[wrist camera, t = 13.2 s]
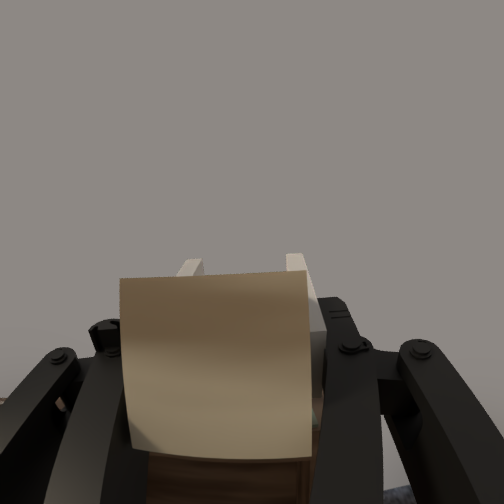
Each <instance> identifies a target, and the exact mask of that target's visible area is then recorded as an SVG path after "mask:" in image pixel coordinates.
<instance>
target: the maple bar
mask: <svg viewBox="0 0 504 504" xmlns="http://www.w3.org/2000/svg"><path fill="white" fill-rule="evenodd" d="M120 335H121V354H122V368H123V380H124V390H125V399H126V407H127V415H128V422H129V429H130V436H131V442H132V448H134V449H139V450H145V451H151V452H158V453H165V454H173V455H182V456H192V457H205V458H222V459H279V458H297V457H309V456H312V385H311V348H310V323H309V303H308V286H307V271H306V270H300V271H283V272H267V273H247V274H226V275H204V276H179V277H154V278H153V277H152V278H124V279H123V278H121V279H120Z"/></svg>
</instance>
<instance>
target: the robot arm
mask: <svg viewBox="0 0 504 504" xmlns="http://www.w3.org/2000/svg"><path fill="white" fill-rule="evenodd" d="M286 262H287V271H300V270H306V271H307V286H308V303H309V323H310V348H311V385H312V398H322V388H323V394H324V401H323V410H322V418H321V428H320V436H319V443H318V450H317V457H316V464H315V470H314V477H313V483H312V488H311V494H310V500H309V504H383V447H382V430H381V416H380V415H384V418H385V420H386V423H387V425H388V428H389V430H390V432H391V435H392V438H393V440H394V443H395V445H396V448H397V450H398V453H399V456H400V458H401V461H402V463H403V466H404V469H405V471H406V474H407V476H408V479H409V482H410V485H411V488H412V491H413V493H414V496H415V499H416V502H417V504H504V439H503V437H502V435H501V434H500V432H499V430H498V429H497V428H496V426H495V424H494V423H493V421H492V420H491V418H490V417H489V415H488V414H487V413H486V411H485V410H484V408H483V407H482V405H481V404H480V402H479V401H478V400H477V398H476V397H475V395H474V394H473V392H472V391H471V390H470V388H469V387H468V386H467V384H466V383H465V381H464V380H463V379H462V377H461V376H460V375H459V373H458V372H457V371H456V369H455V368H454V367H453V365H452V364H451V363H450V361H449V360H448V359H447V358H446V356H445V355H444V354H443V353H442V351H441V350H440V349H439V347H437V346H436V345H435V344H434V343H431V342H430V341H427V340H422V339H412V340H409V341H406V342H404V343H403V344H402V345H401V347H400V350H399V352H388V351H380V350H376V349H373V346H372V344H371V342H370V341H369V340H367V339H366V338H364V337H361V336H360V334H359V332H358V330H357V328H356V325H355V323H354V321H353V319H352V317H351V315H350V312H349V311H348V308H347V306H346V304H345V302H343V301H342V300H341V299H339V298H338V297H328V298H317V297H316V294H315V291H314V288H313V285H312V282H311V278H310V276H309V272H308V269H307V266H306V263H305V260H304V257H303V254H302V253H293V254H286ZM179 276H204V269H203V262H202V259H187V260H186V262H185V263H184V264H183V266H182V267H181V269H180V270H179V272H178V273H177V275H176V276H175V277H179ZM88 331H89V334H90V337H91V340H92V342H93V345H94V347H95V350H96V353H95V356H94V357H89V358H81V359H78V358H77V355H76V353H75V351H74V350H73V349H71V348H68V347H67V348H66V347H62V348H57V349H55V350H53V351H51V352H50V353H48V354H47V355H46V356H45V357H44V358H43V359H42V360H41V361H40V362H39V363H38V364H37V366H36V367H35V368H34V369H33V370H32V371H31V372H30V373H29V374H28V375H27V376H26V378H25V379H24V380H23V381H22V382H21V383H20V384H19V385H18V386H17V388H16V389H15V390H14V391H13V392H12V393H11V395H10V396H9V397H8V398H7V399H6V400H5V401H4V403H3V404H2V405H1V406H0V504H146V494H147V476H148V462H149V451H145V450H139V449H134V448H132V442H131V436H130V429H129V422H128V415H127V407H126V399H125V390H124V380H123V368H122V354H121V335H120V319H108V320H103V321H101V322H98V323H96V324H95V325H93V326H92V327H91V328H90V329H89V330H88ZM59 397H60V399H61V400H62V402H63V404H64V405H65V406H64V408H63V409H61V410H59V408H58V407H57V405H56V403H55V402H56V401H57V400H58V398H59Z"/></svg>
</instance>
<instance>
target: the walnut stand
mask: <svg viewBox="0 0 504 504" xmlns="http://www.w3.org/2000/svg"><path fill="white" fill-rule="evenodd" d="M323 401H324V394H323V389H322V398H312V456H309V457H297V458H279V459H222V458H205V457H192V456H182V455H173V454H165V453H158V452H151V451H149V462H148V476H147V494H146V504H309V500H310V494H311V488H312V483H313V477H314V470H315V464H316V457H317V450H318V443H319V436H320V428H321V418H322V410H323ZM55 403H56V405H57V407H58V408H59V410H61V409H63V408H64V406H65V405H64V404H63V402H62V400H61V399H60V397H59V398H58V400H57V401H56V402H55Z"/></svg>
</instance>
